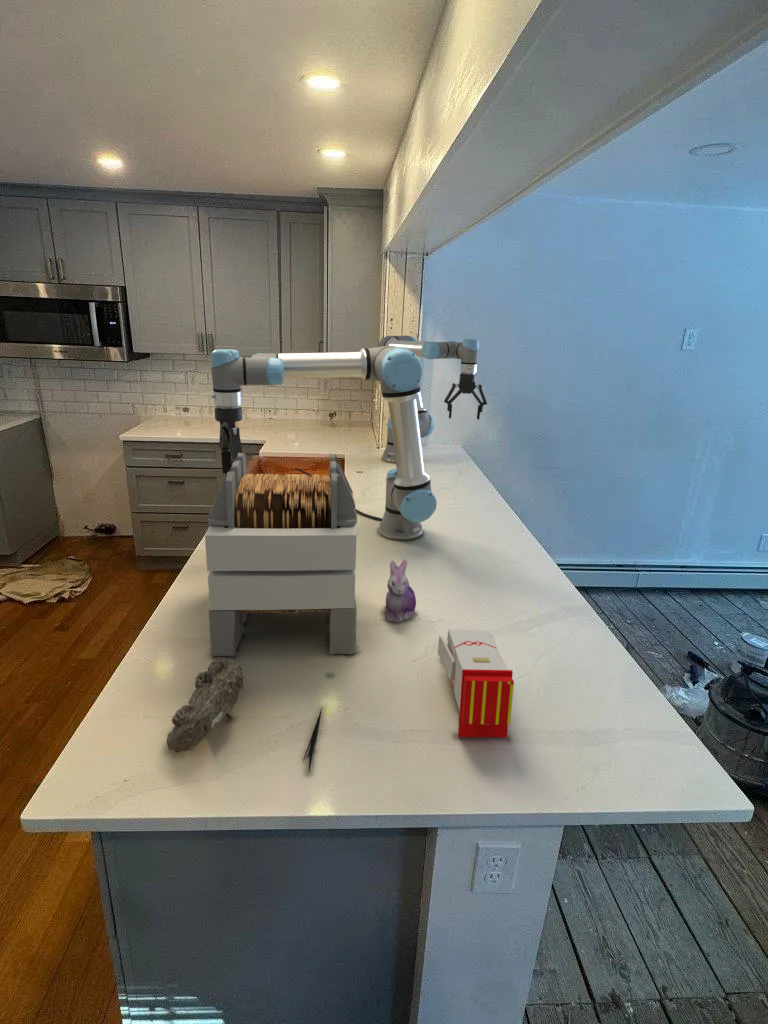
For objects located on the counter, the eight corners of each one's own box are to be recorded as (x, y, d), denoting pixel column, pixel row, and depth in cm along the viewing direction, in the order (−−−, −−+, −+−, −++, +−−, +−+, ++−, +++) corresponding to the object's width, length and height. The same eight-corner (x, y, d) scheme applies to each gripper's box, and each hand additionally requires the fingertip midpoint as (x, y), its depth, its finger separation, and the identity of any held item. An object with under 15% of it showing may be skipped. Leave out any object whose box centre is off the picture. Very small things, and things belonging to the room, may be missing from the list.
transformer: (231, 587, 157) (223, 443, 143) (348, 585, 161) (352, 445, 147) (208, 658, 125) (196, 482, 112) (356, 654, 129) (361, 484, 115)
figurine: (392, 627, 141) (395, 572, 136) (374, 608, 149) (376, 556, 144) (425, 619, 145) (429, 566, 140) (405, 601, 154) (408, 550, 149)
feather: (331, 679, 122) (336, 673, 122) (307, 777, 96) (313, 769, 95) (324, 675, 122) (329, 669, 121) (298, 772, 95) (304, 764, 95)
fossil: (192, 660, 117) (244, 628, 112) (224, 691, 120) (276, 661, 115) (142, 746, 98) (202, 712, 93) (182, 779, 101) (242, 748, 96)
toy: (488, 613, 130) (523, 677, 101) (484, 667, 133) (517, 744, 104) (435, 612, 130) (455, 676, 101) (432, 666, 133) (451, 743, 103)
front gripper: (205, 400, 169) (211, 469, 176) (224, 414, 148) (229, 492, 155) (231, 399, 172) (235, 466, 179) (252, 413, 151) (256, 489, 158)
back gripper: (442, 373, 261) (439, 418, 269) (496, 375, 262) (491, 421, 269) (440, 371, 268) (437, 416, 276) (492, 373, 269) (488, 418, 276)
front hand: (232, 478), depth 167 cm, fingers open, 13 cm apart
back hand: (463, 418), depth 272 cm, fingers open, 13 cm apart
